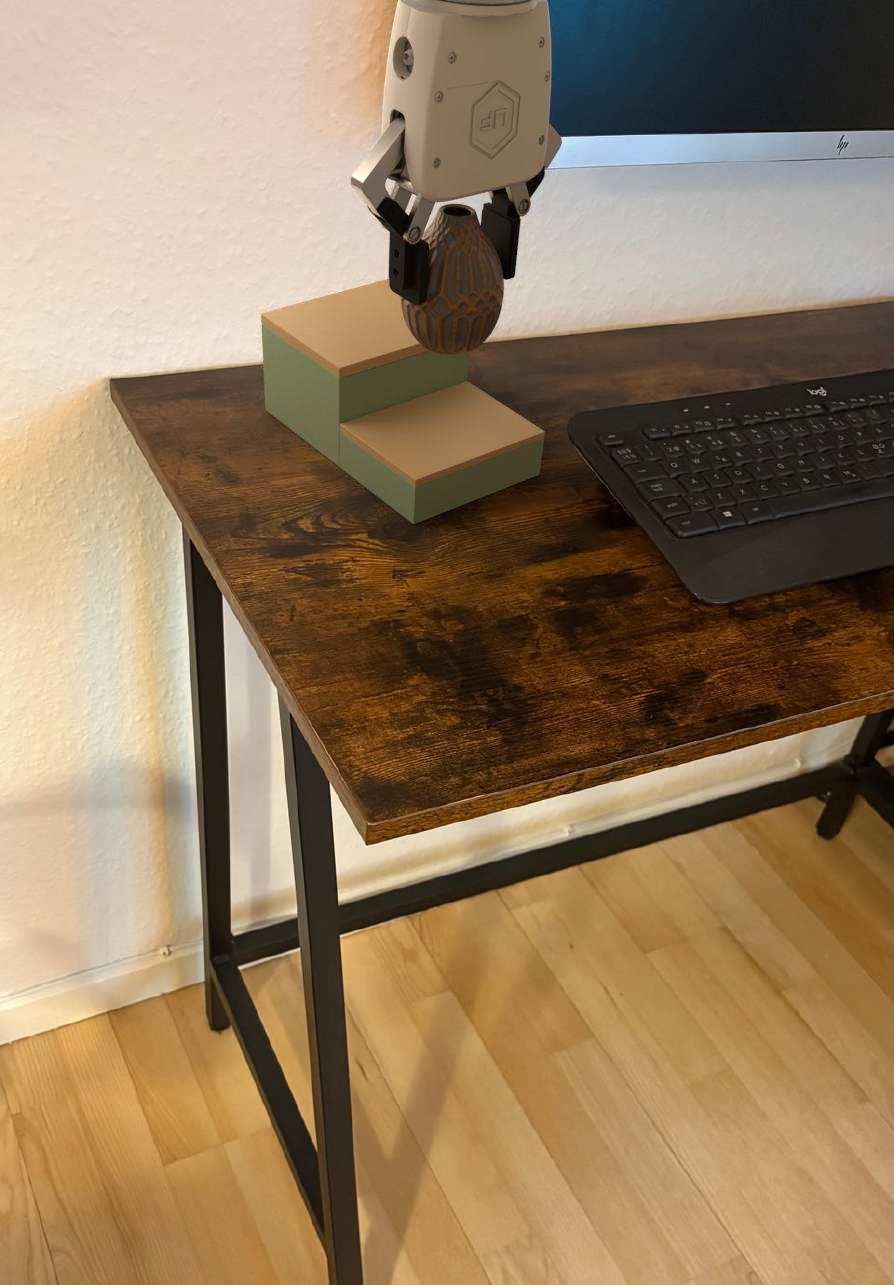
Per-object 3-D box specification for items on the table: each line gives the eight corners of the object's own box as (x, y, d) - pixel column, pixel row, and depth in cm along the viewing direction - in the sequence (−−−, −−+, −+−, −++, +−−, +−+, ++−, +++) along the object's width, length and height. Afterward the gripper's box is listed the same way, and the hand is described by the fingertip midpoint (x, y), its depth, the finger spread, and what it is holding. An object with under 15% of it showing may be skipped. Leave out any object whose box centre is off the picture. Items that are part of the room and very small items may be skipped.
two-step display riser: (539, 475, 92) (552, 377, 87) (413, 524, 87) (418, 424, 81) (387, 371, 102) (390, 278, 96) (264, 410, 96) (260, 313, 91)
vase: (451, 311, 88) (460, 182, 82) (519, 348, 85) (533, 216, 78) (377, 336, 84) (380, 204, 78) (445, 376, 81) (454, 241, 75)
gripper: (390, 3, 63) (381, 338, 76) (630, -30, 71) (585, 277, 84) (307, -32, 67) (312, 292, 79) (543, -60, 75) (513, 238, 88)
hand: (452, 282), depth 82 cm, fingers closed on vase, 6 cm apart
